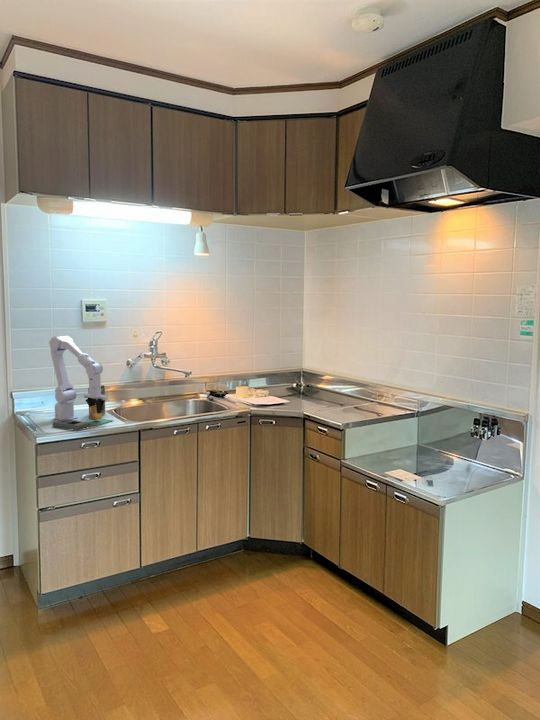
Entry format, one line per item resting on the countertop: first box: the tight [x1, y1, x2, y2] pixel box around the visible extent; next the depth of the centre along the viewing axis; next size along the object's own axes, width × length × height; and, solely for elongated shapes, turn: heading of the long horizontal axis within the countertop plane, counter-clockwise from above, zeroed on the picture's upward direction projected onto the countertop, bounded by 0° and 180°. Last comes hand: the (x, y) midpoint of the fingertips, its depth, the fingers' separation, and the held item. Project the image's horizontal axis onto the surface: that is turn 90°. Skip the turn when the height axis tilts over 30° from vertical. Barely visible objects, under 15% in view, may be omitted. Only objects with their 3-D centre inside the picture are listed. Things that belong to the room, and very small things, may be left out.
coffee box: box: [87, 384, 106, 418], centre depth 298 cm, size 9×6×16 cm
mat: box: [82, 418, 114, 427], centre depth 283 cm, size 12×12×1 cm
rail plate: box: [52, 419, 91, 431], centre depth 273 cm, size 17×8×3 cm, turn 63°
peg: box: [89, 405, 103, 421], centre depth 282 cm, size 4×4×7 cm
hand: (96, 412), depth 283 cm, fingers closed on peg, 4 cm apart
